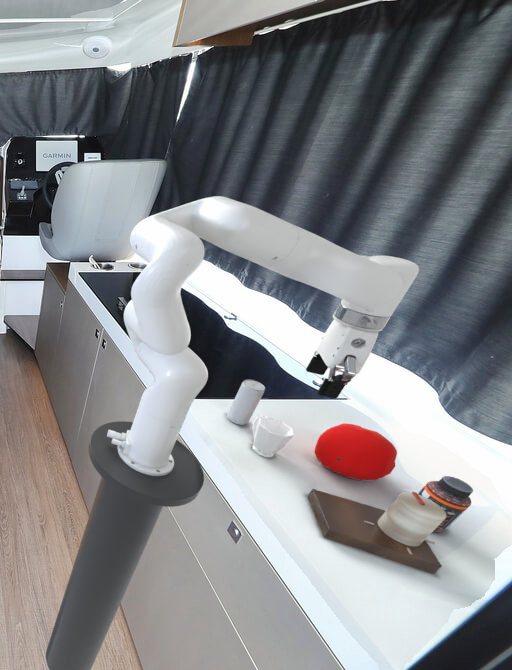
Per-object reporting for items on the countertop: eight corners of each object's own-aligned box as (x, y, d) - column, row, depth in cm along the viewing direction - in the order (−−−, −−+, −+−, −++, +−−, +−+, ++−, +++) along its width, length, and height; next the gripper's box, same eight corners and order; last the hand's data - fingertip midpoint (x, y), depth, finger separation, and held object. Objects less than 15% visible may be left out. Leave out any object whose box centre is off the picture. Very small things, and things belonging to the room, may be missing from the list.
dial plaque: (323, 537, 83) (329, 529, 82) (307, 496, 92) (312, 488, 91) (442, 577, 77) (451, 568, 75) (412, 528, 85) (420, 520, 84)
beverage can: (249, 420, 114) (267, 385, 108) (245, 428, 111) (263, 393, 105) (228, 411, 117) (245, 377, 111) (224, 419, 114) (241, 384, 108)
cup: (254, 459, 101) (267, 434, 98) (234, 430, 110) (246, 407, 106) (286, 463, 100) (301, 439, 96) (264, 434, 109) (277, 410, 105)
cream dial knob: (428, 551, 78) (456, 523, 74) (386, 539, 80) (411, 511, 76) (410, 525, 83) (435, 497, 79) (371, 514, 85) (393, 486, 81)
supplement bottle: (403, 520, 87) (436, 483, 82) (402, 503, 91) (433, 466, 85) (446, 539, 83) (483, 501, 78) (443, 520, 87) (478, 483, 82)
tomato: (322, 488, 98) (365, 479, 100) (383, 480, 87) (430, 471, 89) (291, 434, 103) (333, 427, 106) (344, 420, 92) (389, 413, 95)
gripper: (404, 340, 77) (355, 412, 85) (369, 304, 90) (330, 369, 98) (350, 330, 80) (308, 400, 88) (324, 297, 93) (290, 360, 101)
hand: (320, 383), depth 93 cm, fingers open, 9 cm apart
